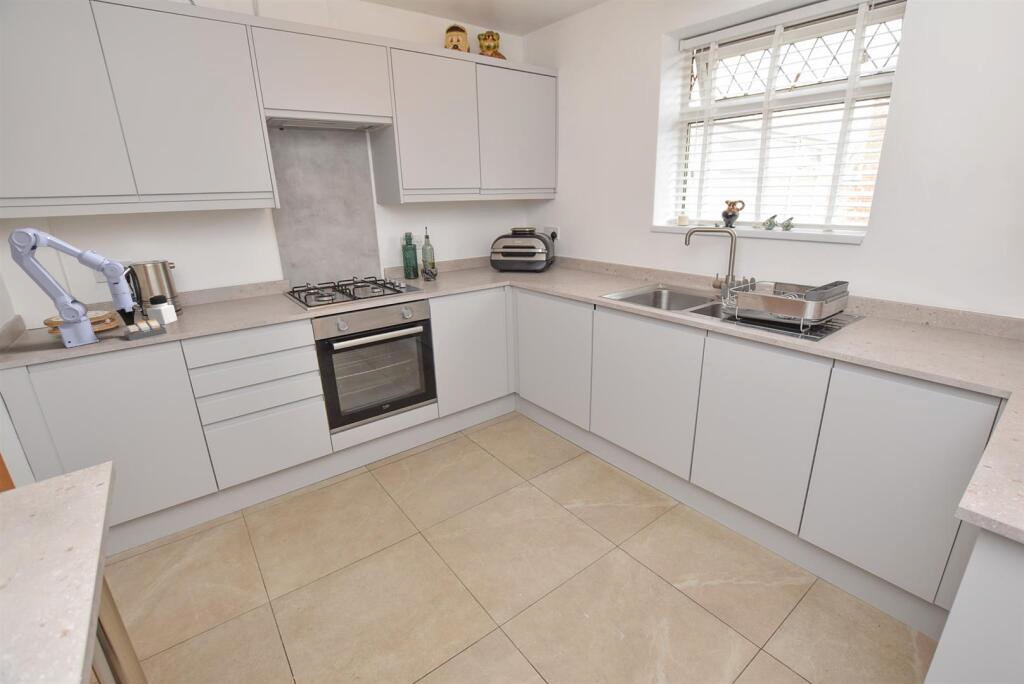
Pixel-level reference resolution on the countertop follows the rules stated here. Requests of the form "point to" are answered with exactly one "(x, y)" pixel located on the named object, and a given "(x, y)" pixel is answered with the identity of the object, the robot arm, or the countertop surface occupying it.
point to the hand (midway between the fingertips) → (130, 326)
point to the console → (144, 333)
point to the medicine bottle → (161, 310)
